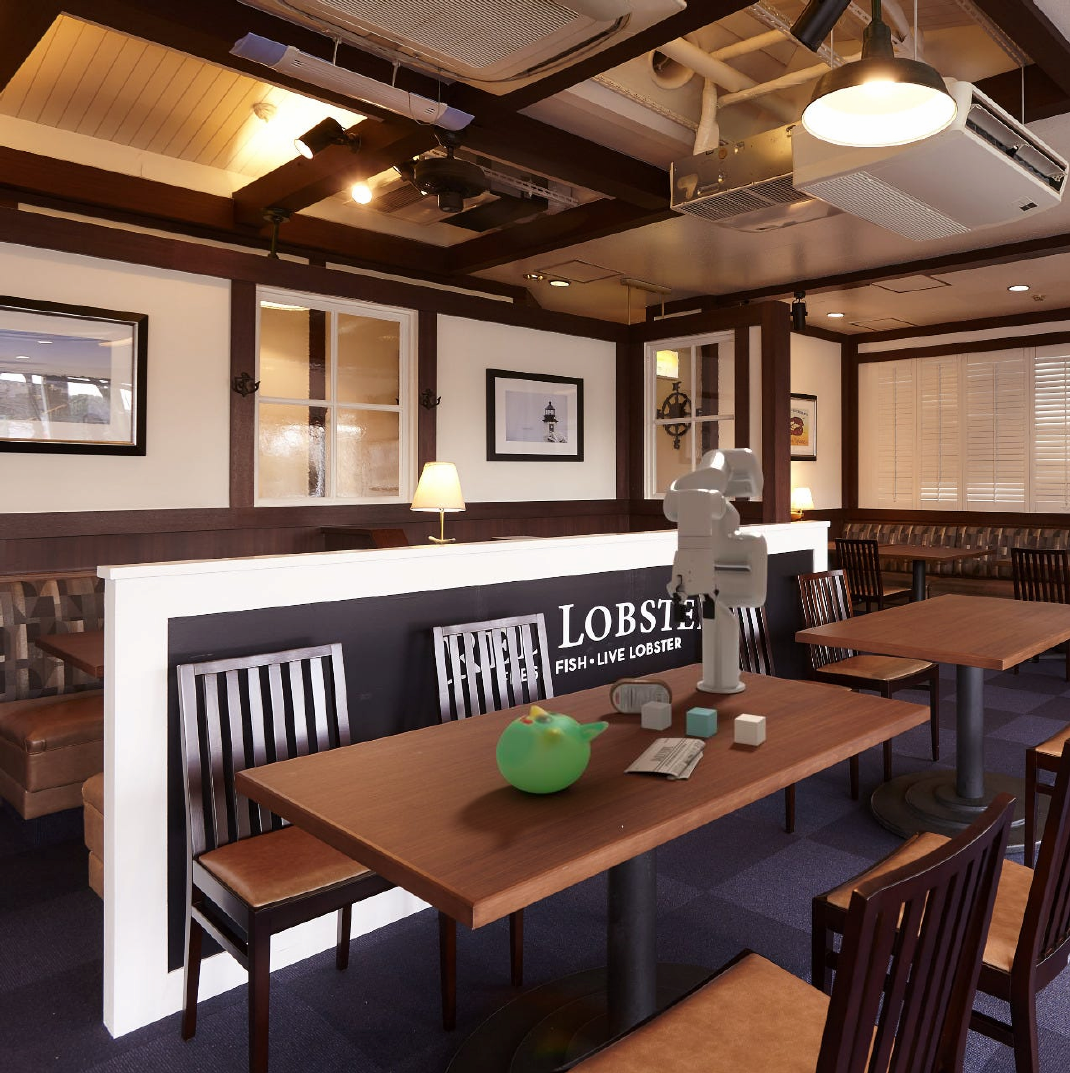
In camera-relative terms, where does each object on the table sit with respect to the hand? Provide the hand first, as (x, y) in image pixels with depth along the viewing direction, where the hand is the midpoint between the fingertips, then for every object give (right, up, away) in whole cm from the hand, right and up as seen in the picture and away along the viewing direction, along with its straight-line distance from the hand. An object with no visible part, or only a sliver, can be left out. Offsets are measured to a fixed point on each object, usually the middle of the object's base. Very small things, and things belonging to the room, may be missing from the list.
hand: (694, 620), depth 191 cm
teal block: (+1, -25, -4) cm, 25 cm away
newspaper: (-9, -27, -21) cm, 35 cm away
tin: (-10, -24, +14) cm, 30 cm away
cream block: (+10, -25, -10) cm, 28 cm away
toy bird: (-34, -27, -37) cm, 57 cm away
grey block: (-8, -24, +3) cm, 26 cm away
